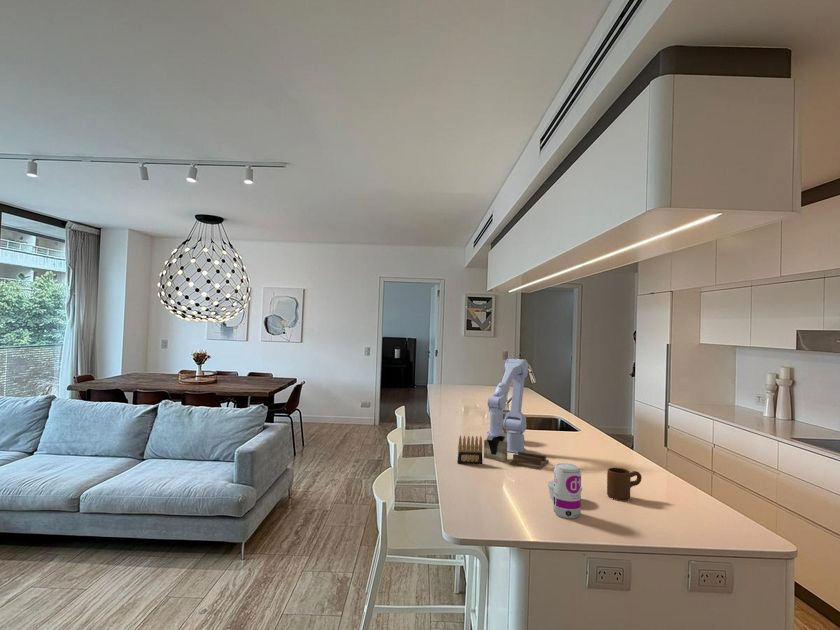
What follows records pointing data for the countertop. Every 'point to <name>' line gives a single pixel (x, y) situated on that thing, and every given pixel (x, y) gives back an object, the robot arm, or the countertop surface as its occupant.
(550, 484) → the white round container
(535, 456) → the notched stand
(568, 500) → the supplement can
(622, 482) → the mug
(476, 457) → the ammunition clip
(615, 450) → the countertop surface
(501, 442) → the beige wooden block
